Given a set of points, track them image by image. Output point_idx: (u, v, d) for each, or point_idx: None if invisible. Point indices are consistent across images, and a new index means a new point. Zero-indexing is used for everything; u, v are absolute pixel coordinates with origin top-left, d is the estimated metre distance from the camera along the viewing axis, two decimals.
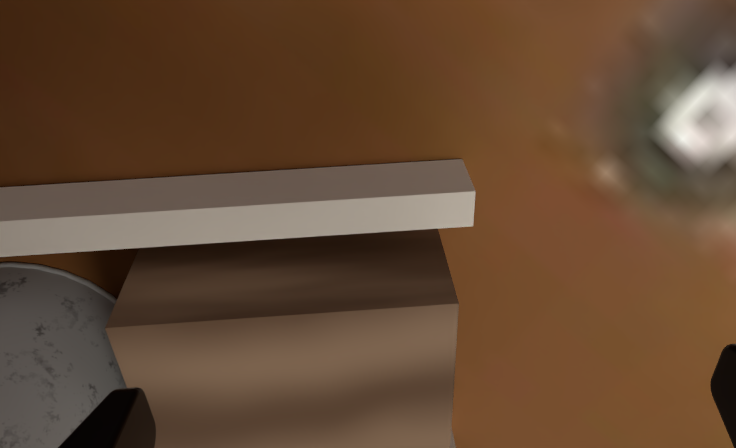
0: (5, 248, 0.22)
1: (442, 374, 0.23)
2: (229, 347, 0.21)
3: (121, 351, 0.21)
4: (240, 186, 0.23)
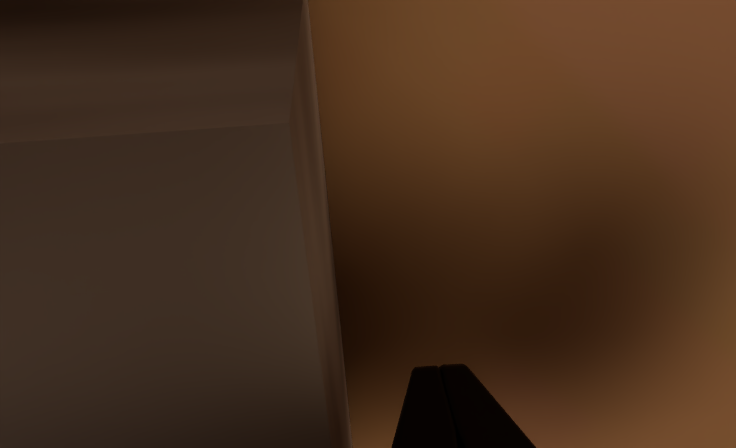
0: None
1: (286, 433, 0.06)
2: None
3: None
4: None
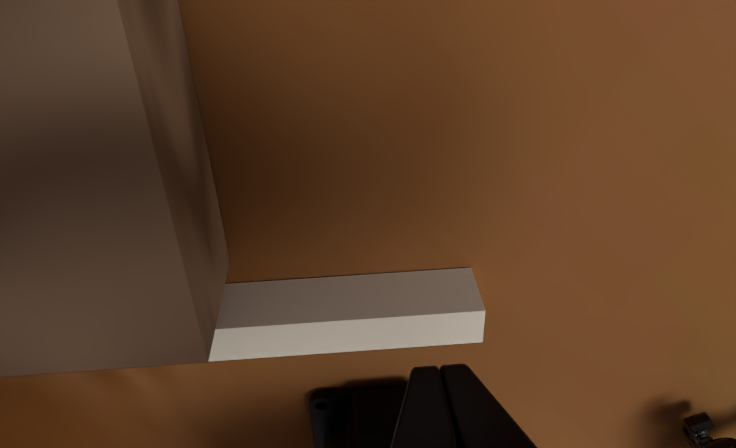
0: None
1: (128, 126, 0.14)
2: None
3: None
4: None
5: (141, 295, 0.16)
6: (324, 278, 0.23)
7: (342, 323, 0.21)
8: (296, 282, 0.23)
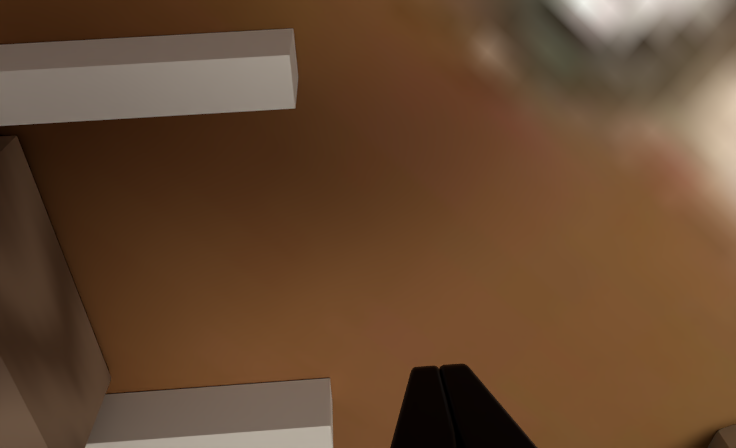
0: None
1: None
2: None
3: None
4: None
5: (2, 442, 0.20)
6: (199, 388, 0.26)
7: (204, 437, 0.24)
8: (173, 393, 0.26)
